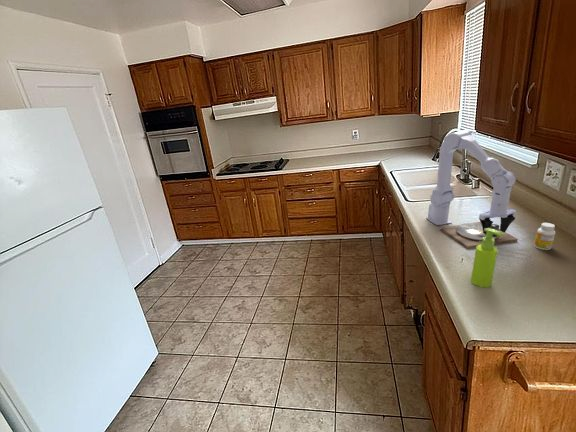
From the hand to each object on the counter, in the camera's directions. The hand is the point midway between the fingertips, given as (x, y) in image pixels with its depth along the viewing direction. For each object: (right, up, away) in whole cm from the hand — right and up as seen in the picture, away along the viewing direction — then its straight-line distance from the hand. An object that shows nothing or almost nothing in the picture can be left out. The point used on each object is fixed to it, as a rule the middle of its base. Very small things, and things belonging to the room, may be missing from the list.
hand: (494, 232), depth 126 cm
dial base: (-4, -2, +6) cm, 7 cm away
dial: (-4, 0, +6) cm, 7 cm away
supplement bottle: (+14, -5, -7) cm, 17 cm away
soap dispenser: (-20, -16, -24) cm, 35 cm away
